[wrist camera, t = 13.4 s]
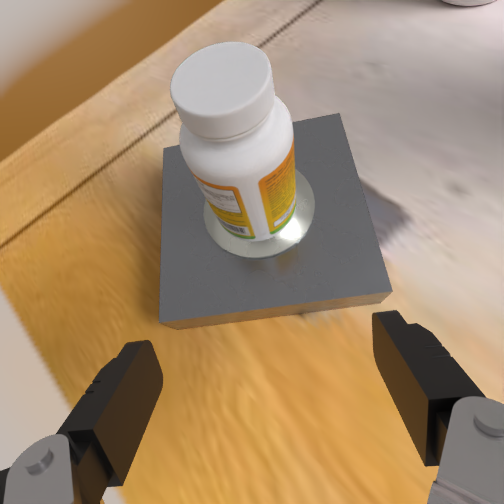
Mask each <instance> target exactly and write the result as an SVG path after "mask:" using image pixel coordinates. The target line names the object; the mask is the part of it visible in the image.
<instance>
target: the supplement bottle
mask: <svg viewBox="0 0 504 504" xmlns="http://www.w3.org/2000/svg"><path fill="white" fill-rule="evenodd" d="M170 93H171V97H172V100H173V102H174V105H175V107H176V109H177V111H178V114H179V116H180V119H181V121H182V125H181V129H180V137H179V142H180V149H181V152H182V155H183V157H184V159H185V161H186V163H187V166H188V167H189V169H190V171H191V173H192V174H193V176H194V178H195V180H196V182H197V183H198V185H199V187H200V189H201V191H202V192H203V194H204V196H205V198H206V200H207V201H208V203H209V205H210V207H211V209H212V210H213V212H214V214H215V216H216V218H217V219H218V221H219V223H220V224H221V226H222V227H223V228H224V229H225V230H226V231H227V232H228V233H229V234H230V235H232V236H233V237H235V238H238V239H240V240H244V241H251V242H256V241H263V240H266V239H269V238H272V237H274V236H276V235H277V234H279V233H280V232H281V231H283V230H284V229H285V228H286V227H287V225H288V224H289V223H290V221H291V220H292V218H293V216H294V213H295V209H296V182H295V157H294V135H293V125H292V119H291V116H290V113H289V111H288V109H287V107H286V106H285V104H284V103H283V102H282V101H281V100H280V99H279V98H278V97H277V96H276V95H275V91H274V83H273V76H272V68H271V64H270V61H269V59H268V57H267V56H266V54H265V53H264V52H263V51H262V50H260V49H259V48H257V47H256V46H253V45H251V44H248V43H244V42H222V43H217V44H213V45H210V46H207V47H205V48H202V49H200V50H198V51H197V52H195V53H193V54H192V55H190V56H189V57H188V58H186V59H185V60H184V61H183V62H182V63H181V64H180V65H179V67H178V68H177V69H176V71H175V73H174V74H173V77H172V79H171V84H170Z"/></svg>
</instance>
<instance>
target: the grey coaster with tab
mask: <svg viewBox="0 0 504 504" xmlns="http://www.w3.org/2000/svg"><path fill="white" fill-rule="evenodd" d="M292 125H293V135H294V157H295V182H296V209H295V213H294V216H293V218H292V220H291V221H290V223H289V224H288V225H287V227H286V228H285V229H284V230H283V231H281V232H280V233H279V234H277V235H276V236H274V237H272V238H269V239H266V240H263V241H256V242H251V241H244V240H240V239H238V238H235V237H233V236H232V235H230V234H229V233H228V232H227V231H226V230H225V229H224V228H223V227H222V226H221V224H220V223H219V221H218V219H217V218H216V216H215V214H214V212H213V210H212V209H211V207H210V205H209V203H208V201H207V200H206V198H205V196H204V194H203V192H202V191H201V189H200V187H199V185H198V183H197V182H196V180H195V178H194V176H193V174H192V173H191V171H190V169H189V167H188V166H187V163H186V161H185V159H184V157H183V155H182V152H181V149H180V145H177V146H172V147H167V148H164V151H163V188H162V225H161V262H160V300H159V323H161V324H163V325H166V326H169V327H172V328H174V329H177V330H179V329H187V328H195V327H202V326H210V325H218V324H225V323H233V322H241V321H248V320H256V319H264V318H271V317H279V316H287V315H294V314H302V313H309V312H317V311H325V310H332V309H340V308H348V307H355V306H363V305H371V304H378V303H381V302H382V301H383V300H384V299H385V298H386V297H387V296H388V295H389V294H390V293H392V292H393V291H392V287H391V284H390V281H389V277H388V274H387V271H386V267H385V264H384V261H383V257H382V254H381V251H380V247H379V244H378V241H377V237H376V234H375V231H374V227H373V224H372V221H371V217H370V214H369V211H368V207H367V204H366V200H365V197H364V194H363V190H362V187H361V184H360V180H359V177H358V174H357V170H356V167H355V164H354V160H353V157H352V154H351V150H350V147H349V144H348V140H347V137H346V134H345V130H344V127H343V124H342V120H341V117H340V114H339V113H338V114H333V115H327V116H322V117H317V118H312V119H307V120H302V121H297V122H292Z"/></svg>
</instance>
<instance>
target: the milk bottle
mask: <svg viewBox="0 0 504 504" xmlns="http://www.w3.org/2000/svg"><path fill="white" fill-rule="evenodd" d="M442 1H444V2H446V3H450V4H453V5H460V6H477V5H482V4H487V3H490V2H494V1H496V0H442Z"/></svg>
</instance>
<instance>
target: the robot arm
mask: <svg viewBox="0 0 504 504" xmlns="http://www.w3.org/2000/svg"><path fill="white" fill-rule="evenodd" d="M372 332H373V352H374V358H375V361H376V365H377V367H378V369H379V372H380V374H381V376H382V378H383V380H384V382H385V384H386V386H387V388H388V390H389V392H390V395H391V397H392V399H393V401H394V403H395V405H396V407H397V409H398V411H399V413H400V415H401V417H402V420H403V422H404V424H405V426H406V428H407V430H408V432H409V434H410V436H411V438H412V440H413V443H414V445H415V447H416V449H417V451H418V453H419V455H420V457H421V459H422V461H423V463H424V465H425V466H439V470H438V474H437V478H436V481H433V484H432V487H431V490H430V494H429V498H428V502H427V504H504V404H502V403H500V402H497V401H495V400H492V399H488V398H486V396H485V395H484V394H483V393H482V392H481V391H480V389H479V388H478V387H477V386H476V385H475V383H474V382H473V381H472V380H471V379H470V377H469V376H468V375H467V374H466V373H465V371H464V370H463V369H462V368H461V367H460V365H459V364H458V363H457V362H456V361H455V359H454V358H453V357H451V356H450V354H449V352H448V351H447V350H446V349H445V348H444V347H442V344H441V343H440V342H439V340H438V339H437V338H436V337H435V336H434V334H433V333H432V332H430V331H429V330H427V329H425V328H424V327H422V326H421V325H419V324H417V323H415V324H407V323H406V321H405V320H404V319H403V317H402V316H401V315H400V313H399V312H398V311H397V310H393V311H385V312H376V313H373V314H372ZM92 382H93V383H92V384H90V386H89V387H88V389H87V390H86V391H85V394H84V395H83V396H82V397H81V399H80V400H79V401H78V403H77V404H76V406H75V407H74V409H73V410H72V411H71V413H70V414H69V416H68V417H67V419H66V420H65V422H64V423H63V425H62V426H61V427H60V429H59V430H58V432H57V433H56V434H55V435H51V436H48V437H45V438H43V439H41V440H39V441H37V442H36V443H34V444H33V445H32V446H30V447H29V448H28V449H26V450H25V451H24V452H23V453H22V454H21V455H20V456H19V457H18V458H17V459H16V461H15V462H14V463H13V465H12V466H11V467H10V468H7V469H5V470H2V471H0V504H104V501H103V499H102V496H103V494H104V492H105V490H106V488H107V487H115V486H123V484H124V481H125V479H126V476H127V474H128V471H129V469H130V466H131V464H132V462H133V459H134V457H135V454H136V452H137V449H138V447H139V444H140V442H141V439H142V437H143V434H144V432H145V430H146V427H147V425H148V422H149V420H150V417H151V415H152V412H153V410H154V407H155V405H156V402H157V400H158V398H159V395H160V393H161V390H162V386H163V374H162V370H161V367H160V365H159V362H158V359H157V356H156V354H155V351H154V348H153V346H152V343H151V342H150V341H149V340H144V341H135V342H128V343H126V344H125V346H124V347H123V349H122V350H121V352H120V353H119V355H118V356H117V358H113V359H112V360H111V361H110V362H109V363H108V364H106V365H105V366H104V367H103V368H102V369H101V370H100V371H99V373H98V374H97V376H96V377H95V379H94V380H93V381H92Z"/></svg>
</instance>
